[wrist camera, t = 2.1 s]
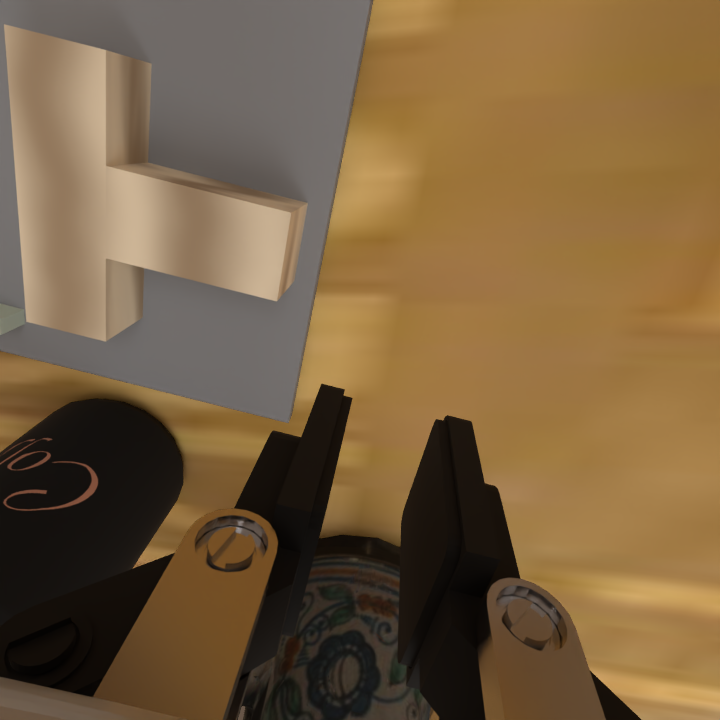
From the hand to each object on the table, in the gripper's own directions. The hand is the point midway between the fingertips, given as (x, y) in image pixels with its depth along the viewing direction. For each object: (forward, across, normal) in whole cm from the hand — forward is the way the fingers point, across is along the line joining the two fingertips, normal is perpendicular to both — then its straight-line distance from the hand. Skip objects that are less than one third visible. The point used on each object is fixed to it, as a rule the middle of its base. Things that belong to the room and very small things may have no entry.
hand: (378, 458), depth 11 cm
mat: (+19, +18, 0) cm, 26 cm away
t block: (+18, +12, 0) cm, 22 cm away
